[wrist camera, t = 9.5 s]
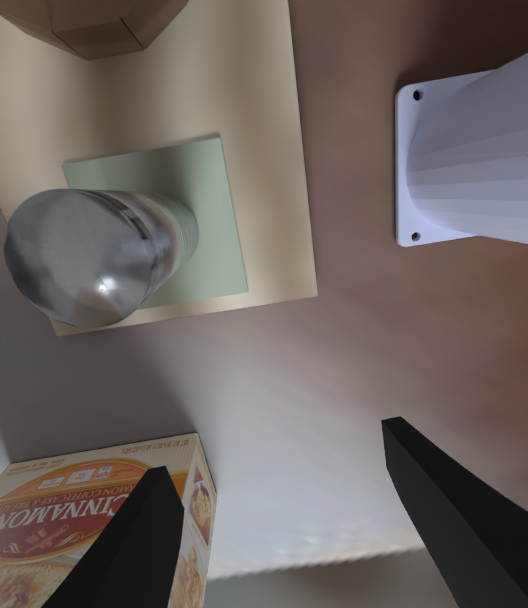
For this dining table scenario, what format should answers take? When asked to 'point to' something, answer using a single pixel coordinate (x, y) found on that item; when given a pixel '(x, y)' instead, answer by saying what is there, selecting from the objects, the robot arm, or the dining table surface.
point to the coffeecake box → (97, 515)
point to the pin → (96, 251)
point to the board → (166, 133)
